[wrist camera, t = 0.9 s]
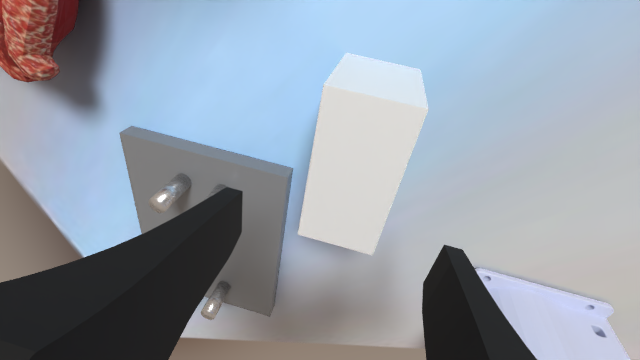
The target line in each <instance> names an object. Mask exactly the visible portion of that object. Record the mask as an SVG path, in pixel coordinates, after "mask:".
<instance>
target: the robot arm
mask: <svg viewBox="0 0 640 360" xmlns="http://www.w3.org/2000/svg"><path fill="white" fill-rule="evenodd" d="M242 199H243V191H240V190H237V189H233V188H229V187H226V188H224V189H222V190H221V191H219V192H217V193H215V194H214V195H212V196H210V197H209V198H207V199H205V200H204V201H202V202H200V203H199V204H197V205H195V206H194V207H192V208H190V209H188V210H187V211H185V212H183V213H182V214H180V215H178V216H176V217H174V218H173V219H171V220H169V221H167V222H165V223H163V224H161V225H159V226H157V227H155V228H153V229H152V230H150V231H148V232H145V233H143V234H141V235H139V236H137V237H135V238H133V239H130V240H128V241H126V242H123V243H121V244H119V245H116V246H114V247H111V248H109V249H106V250H104V251H101V252H98V253H95V254H93V255H90V256H87V257H84V258H82V259H79V260H76V261H73V262H70V263H68V264H64V265H61V266H58V267H55V268H52V269H49V270H45V271H42V272H38V273H35V274H32V275H28V276H24V277H21V278H17V279H13V280H10V281H5V282H1V283H0V360H168V359H169V357H170V355H171V353H172V351H173V349H174V347H175V346H176V344H177V342H178V340H179V338H180V336H181V334H182V332H183V330H184V329H185V327H186V325H187V323H188V321H189V319H190V318H191V316H192V314H193V313H194V311H195V309H196V308H197V306H198V305H199V303H200V302H201V300H202V299H203V297H204V296H205V294H206V293H207V291H208V289H209V288H210V286H211V285H212V283H213V282H214V280H215V279H216V277H217V276H218V274H219V273H220V271H221V270H222V268H223V267H224V265H225V264H226V262H227V260H228V259H229V257H230V256H231V254H232V252H233V250H234V248H235V246H236V244H237V241H238V239H239V237H240V235H241V233H242ZM486 276H488V277H486ZM613 312H614V309H613V308H612V306H611V305H610V304H608V303H605V302H601V301H598V300H594V299H590V298H587V297H583V296H579V295H576V294H572V293H569V292H565V291H561V290H558V289H554V288H550V287H547V286H543V285H540V284H536V283H532V282H529V281H525V280H522V279H518V278H514V277H511V276H507V275H503V274H500V273H496V272H493V271H489V270H485V269H481V268H476V269H474V267H473V266H472V264H471V262H470V261H469V259H468V258H467V256H466V254H465V253H464V251H463V250H462V249H458V248H454V247H451V246H447V245H444V246H443V248H442V250H441V252H440V253H439V255H438V257H437V259H436V261H435V263H434V264H433V266H432V268H431V270H430V272H429V274H428V275H427V277H426V279H425V281H424V283H423V303H422V314H423V326H424V338H425V349H426V359H427V360H631V359H630V358H629V356H628V354H627V353H626V351H625V349H624V348H623V346H622V344H621V342H620V341H619V339H618V337H617V336H616V334H615V332H614V331H613V329H612V327H611V326H610V324H609V322H608V321H607V319H606V318H607V317H609V316H610V315H611V314H612V313H613Z"/></svg>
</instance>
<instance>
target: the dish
mask: <svg viewBox="0 0 640 360" xmlns="http://www.w3.org/2000/svg"><path fill="white" fill-rule="evenodd" d="M78 4H79V0H0V66H1V67H2V68H3V69H4V70H5V71H6V72H7V73H8V74H9V75H10V76H11V77H12V78H14V79H17V80H20V81H25V82H32V81H38V80H39V81H43V80H50V79H51V78H53V77H55V76H56V75H57V74H58V73H59V72H60V70H59V66H58V65H57V64H56V63H55V62H54V60H53V58H52V56H53V52H54V50H55V48H56V47H57V46H58V44H59V43H60V42H61V41H62V40H63V39H64V38H65V37H66V36H67V35H68V34H69V33H70V32H71V31H72V30H73V29H74V25H75V21H76V17H77V13H78Z"/></svg>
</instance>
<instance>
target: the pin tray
mask: <svg viewBox="0 0 640 360" xmlns="http://www.w3.org/2000/svg"><path fill="white" fill-rule="evenodd" d="M120 138H121V142H122V147H123V151H124V156H125V160H126V165H127V169H128V174H129V178H130V183H131V188H132V192H133V197H134V201H135V206H136V210H137V215H138V219H139V224H140V228H141V233H142V234H143V233H145V232H148V231H150V230H152V229H153V228H155V227H157V226H159V225H161V224H163V223H165V222H167V221H169V220H171V219H173V218H174V217H176V216H178V215H180V214H182V213H183V212H185V211H187V210H188V209H190V208H192V207H194V206H195V205H197V204H199V203H200V202H202V201H204V200H205V199H207V198H209V197H210V196H212V195H214V194H215V193H217V192H219V191H221V190H222V189H224V188H226V187H229V188H233V189H237V190H240V191H243V199H242V233H241V235H240V237H239V239H238V241H237V244H236V246H235V248H234V250H233V252H232V254H231V256H230V257H229V259H228V260H227V262H226V264H225V265H224V267H223V268H222V270H221V271H220V273H219V274H218V276H217V277H216V279H215V280H214V282H213V283H212V285H211V286H210V288H209V289H208V291H207V293H206V294H205V297H208V298H209V299H208V301H207V303H206V304H205V306H204V308H203V309H202V311H201V315H202V316H203V317H205V318H206V319H210V320H212V319H214V318H215V316H216V314H217V312H218V310H219V309H220V307H221V305H222V303H223V302H224V303H228V304H231V305H234V306H237V307H241V308H244V309H247V310H251V311H254V312H257V313H260V314H264V315H267V316H270V315H271V312H272V309H273V307H274V302H275V295H276V288H277V280H278V273H279V266H280V258H281V251H282V244H283V237H284V229H285V222H286V215H287V208H288V200H289V193H290V186H291V178H292V171H293V168H290V167H286V166H282V165H279V164H275V163H271V162H267V161H263V160H259V159H256V158H252V157H248V156H244V155H240V154H237V153H233V152H229V151H225V150H221V149H218V148H214V147H210V146H206V145H202V144H198V143H195V142H191V141H187V140H183V139H179V138H176V137H172V136H168V135H164V134H160V133H157V132H153V131H149V130H145V129H141V128H137V127H134V126H131V127H129V128H127V129H126V130H124V131H122V132H120Z"/></svg>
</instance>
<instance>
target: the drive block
mask: <svg viewBox="0 0 640 360" xmlns="http://www.w3.org/2000/svg"><path fill="white" fill-rule="evenodd" d="M427 112H428V104H427V99H426V94H425V89H424V84H423V79H422V73H421V69H416V68H412V67H407V66H403V65H399V64H394V63H390V62H385V61H381V60H377V59H372V58H368V57H363V56H359V55H354V54H350V53H346V54H345V55H344V56H343V58H342V59H341V61H340V62H339V63H338V65H337V66H336V68H335V69H334V71H333V72H332V73H331V75H330V76H329V78H328V79H327V80H326V82H325V83H324V85H323V91H322V96H321V102H320V108H319V114H318V120H317V125H316V131H315V137H314V143H313V149H312V154H311V160H310V166H309V172H308V178H307V183H306V189H305V195H304V201H303V207H302V212H301V218H300V224H299V230H298V235H302V236H305V237H309V238H312V239H316V240H319V241H323V242H327V243H330V244H334V245H337V246H341V247H344V248H348V249H351V250H355V251H359V252H362V253H366V254H369V255H373V253H374V250H375V248H376V245H377V243H378V240H379V237H380V235H381V232H382V230H383V227H384V224H385V222H386V219H387V216H388V214H389V211H390V209H391V206H392V203H393V201H394V198H395V196H396V193H397V190H398V188H399V185H400V182H401V180H402V177H403V175H404V172H405V169H406V167H407V164H408V162H409V159H410V156H411V154H412V151H413V148H414V146H415V143H416V141H417V138H418V135H419V133H420V130H421V128H422V125H423V122H424V120H425V117H426V114H427Z"/></svg>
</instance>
